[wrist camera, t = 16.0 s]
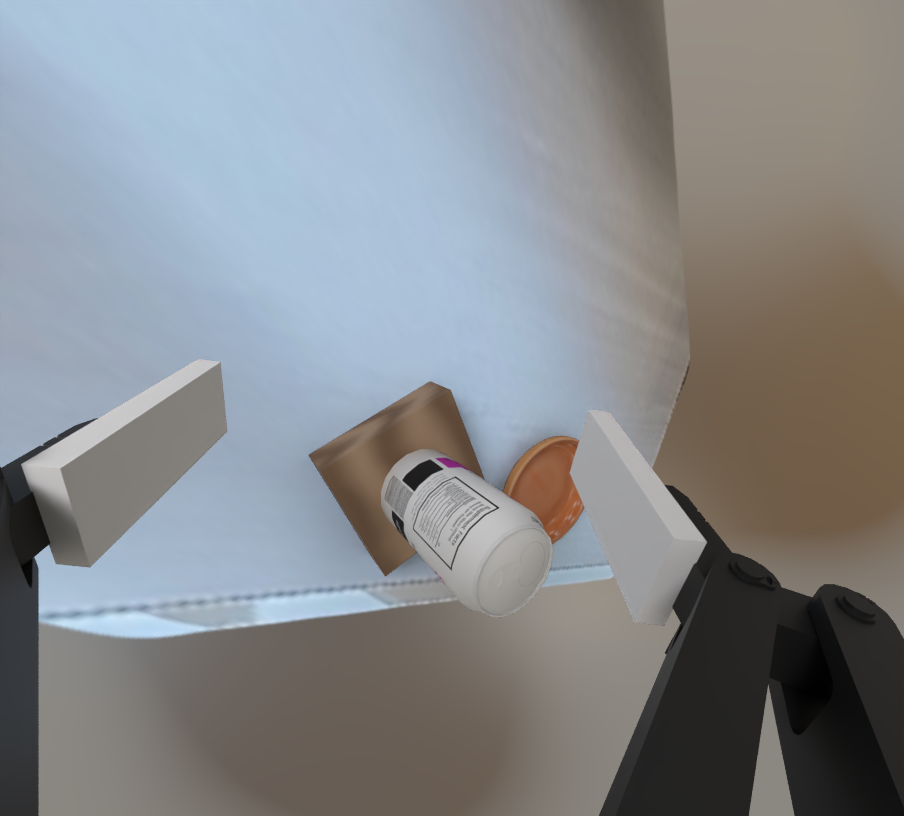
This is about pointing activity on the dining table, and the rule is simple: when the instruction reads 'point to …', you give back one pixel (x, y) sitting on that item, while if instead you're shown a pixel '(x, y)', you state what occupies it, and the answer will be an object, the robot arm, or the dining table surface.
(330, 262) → the dining table surface
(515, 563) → the supplement can
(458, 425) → the podium
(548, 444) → the saucer
